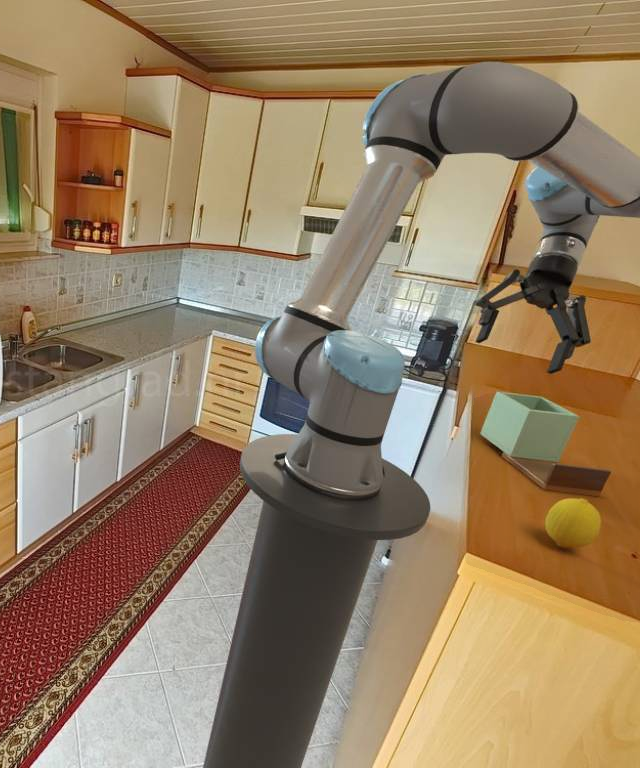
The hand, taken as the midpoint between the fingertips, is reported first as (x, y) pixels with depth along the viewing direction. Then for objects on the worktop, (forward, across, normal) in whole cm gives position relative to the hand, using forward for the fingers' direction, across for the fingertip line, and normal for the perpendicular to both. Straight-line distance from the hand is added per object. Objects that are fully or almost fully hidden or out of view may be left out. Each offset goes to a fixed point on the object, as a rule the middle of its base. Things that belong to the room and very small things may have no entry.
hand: (517, 355), depth 94 cm
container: (+13, +11, +9) cm, 19 cm away
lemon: (+35, +6, -18) cm, 40 cm away
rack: (+18, +13, +2) cm, 23 cm away
